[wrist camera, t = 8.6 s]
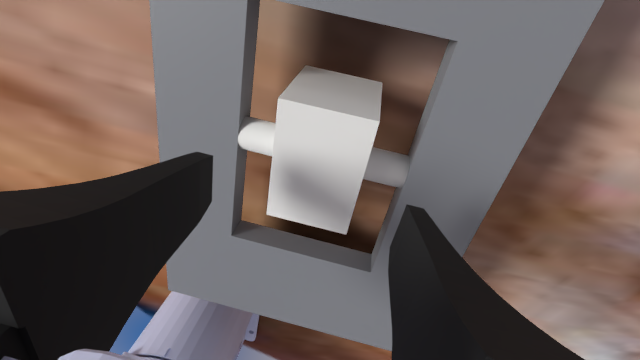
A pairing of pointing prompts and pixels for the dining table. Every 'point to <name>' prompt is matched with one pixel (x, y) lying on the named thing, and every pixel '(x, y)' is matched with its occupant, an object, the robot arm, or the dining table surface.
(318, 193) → the white rectangular prism
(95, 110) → the dining table surface
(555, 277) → the dining table surface
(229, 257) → the shelf
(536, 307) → the dining table surface
